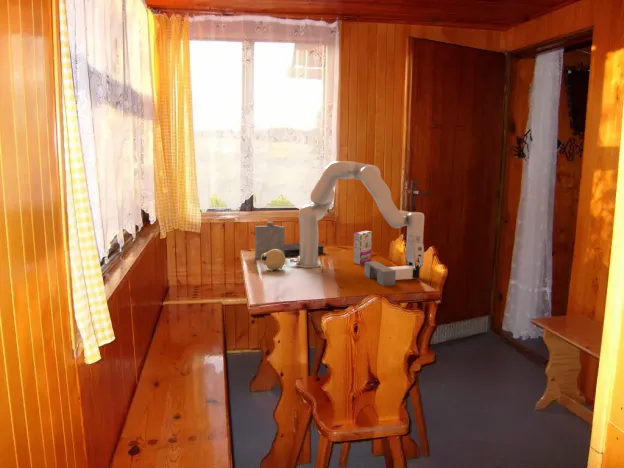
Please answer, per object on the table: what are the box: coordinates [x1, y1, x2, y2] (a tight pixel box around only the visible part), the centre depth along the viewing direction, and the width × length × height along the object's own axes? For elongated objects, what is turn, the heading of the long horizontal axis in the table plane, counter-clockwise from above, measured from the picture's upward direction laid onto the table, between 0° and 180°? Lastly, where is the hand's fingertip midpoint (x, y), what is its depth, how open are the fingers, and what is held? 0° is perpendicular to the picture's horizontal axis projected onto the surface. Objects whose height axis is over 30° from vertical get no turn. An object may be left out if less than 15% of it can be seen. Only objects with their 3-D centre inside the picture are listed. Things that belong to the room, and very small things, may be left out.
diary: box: [284, 242, 326, 258], centre depth 292 cm, size 19×25×5 cm
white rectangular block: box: [388, 265, 416, 281], centre depth 239 cm, size 14×5×5 cm, turn 108°
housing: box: [363, 260, 396, 287], centre depth 235 cm, size 6×20×6 cm, turn 19°
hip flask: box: [254, 221, 286, 260], centre depth 275 cm, size 16×4×20 cm, turn 91°
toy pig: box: [260, 249, 286, 272], centre depth 249 cm, size 10×12×11 cm
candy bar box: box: [352, 230, 373, 266], centre depth 269 cm, size 11×5×16 cm, turn 143°
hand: (412, 275), depth 241 cm, fingers closed on white rectangular block, 5 cm apart
